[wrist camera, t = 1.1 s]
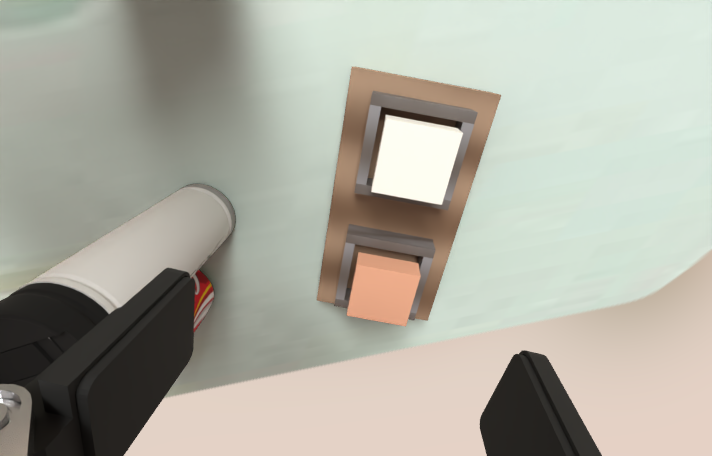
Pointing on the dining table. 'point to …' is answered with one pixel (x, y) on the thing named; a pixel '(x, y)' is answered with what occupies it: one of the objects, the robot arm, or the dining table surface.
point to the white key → (415, 159)
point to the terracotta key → (383, 289)
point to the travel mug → (107, 278)
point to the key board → (390, 213)
